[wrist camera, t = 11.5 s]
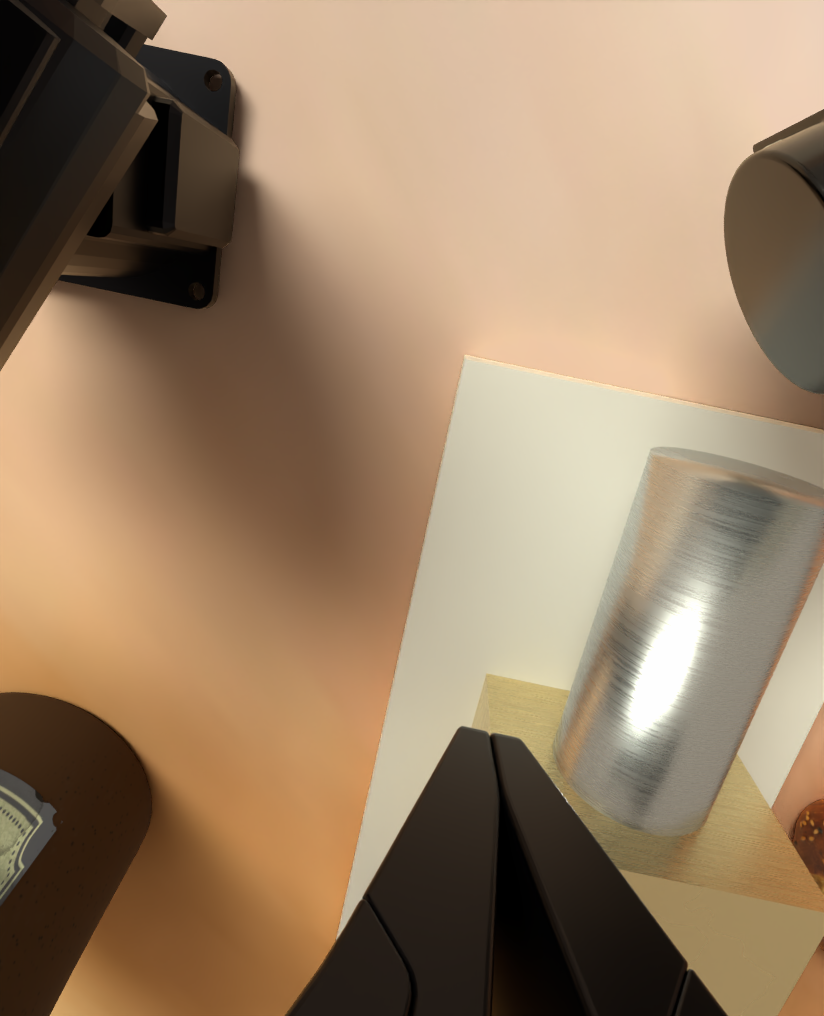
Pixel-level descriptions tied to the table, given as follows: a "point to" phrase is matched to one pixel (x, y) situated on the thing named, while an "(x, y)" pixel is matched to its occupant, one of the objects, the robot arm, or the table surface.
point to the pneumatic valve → (782, 248)
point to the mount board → (555, 567)
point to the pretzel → (812, 842)
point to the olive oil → (59, 841)
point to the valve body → (690, 717)
